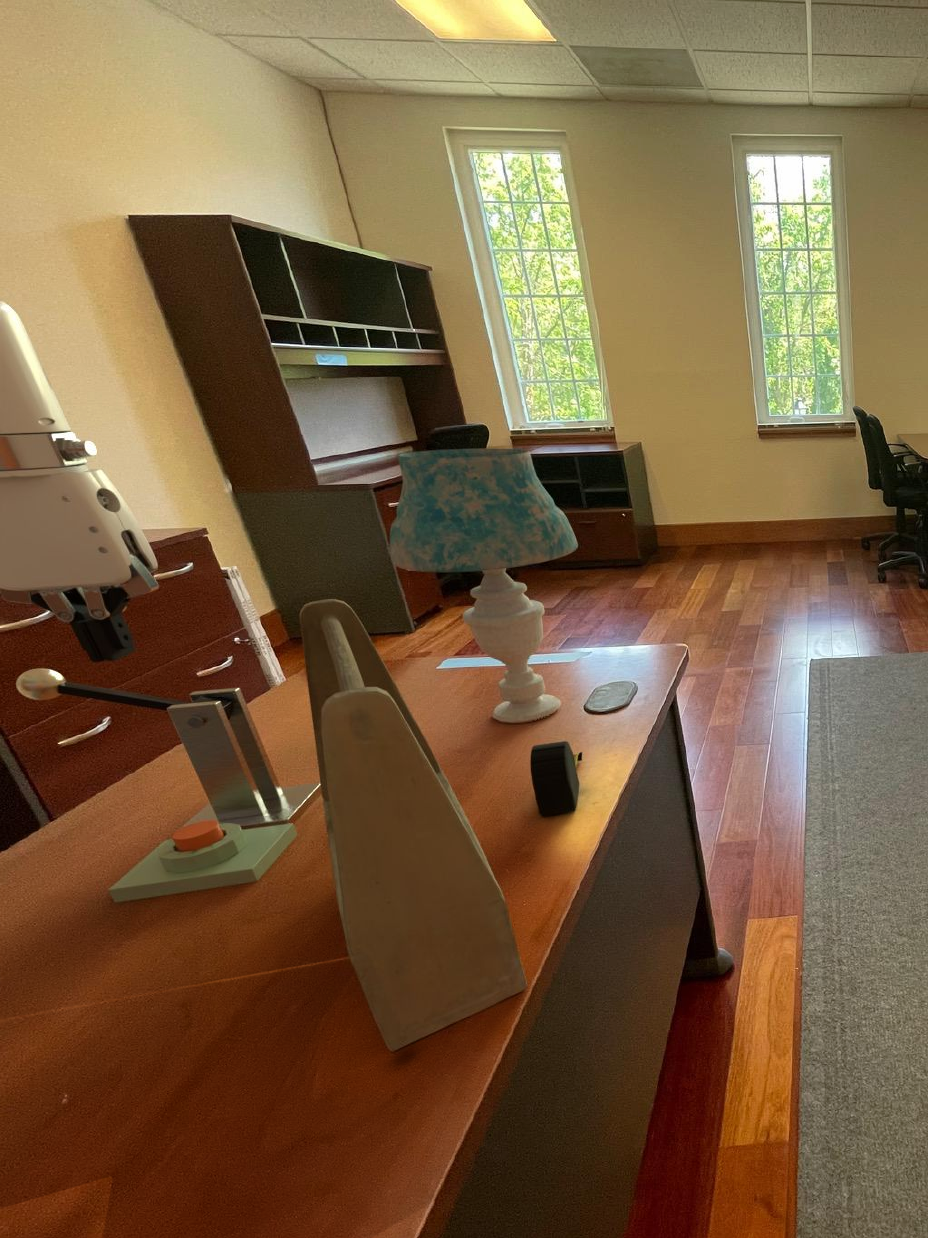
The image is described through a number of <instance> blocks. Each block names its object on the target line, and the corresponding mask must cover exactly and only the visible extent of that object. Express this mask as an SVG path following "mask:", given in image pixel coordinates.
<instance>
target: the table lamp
mask: <svg viewBox="0 0 928 1238" xmlns="http://www.w3.org/2000/svg"><path fill="white" fill-rule="evenodd" d="M397 461H398V465H399V468H400V473H401V480H402V485H401V493H400V496H399V500H398V504H397V506H396V517H395V519H394V520H393V522H392V523H391V526H390V530H389V553H390V559H391V562H392V565H394V566H396V567H397V568H399V569H403V570H405V571H414V572H421V573H422V572H423V573H466V572H482V573H483V574H484V575H483V577H482V579H481V582H480V585H478V586H475V587H473V588H472V589H470V594H469V595H470V597H472V598H473V599H476V600H475V601H474V604H473V606H471V607H470V608H468V609H466V610H464V611H463V613H462V621H463V623H464V624H465V625H466V626H468V627H469V629H470V631H471V633H472V636H473V639H474V641H475V643H476V645H477V646H478V647H479V649H480V650H481V651H482V652H483V653H484V654H485V655H486V656H488V657H490V658H491V659H494V660H497V661H498V662H501V664H503V665H505V667H506V670H505V671H504V673H503V676H504V678H503V679H501V680H500V681H499V682H498V684H497V685H498V690H499V695H500V698H501V699H502V700H503V702H501V703H500V704H497V706H496V707H495V708H494V710H493V712H492V713H491V714H492V717H493V719H494V720H496V721H498V722H501V723H506V724H525V723H530V722H536V721H539V720H541V719H545V718H546V717H545V716H547V717H549V716H551V715H553V714H555V713H556V712H557V711H558V709H560V707H561V706H562V701H561V700H560V699H559V698H558V697H556V696H555V695H552V694H545V693H546V685H545V681H544V678H543V676H542V675H541V674H539V673H534V669H533V668H532V667H531V666H529V665H528V664H529V660H530V658H531V656H533V655H534V654H535V653H536V652H537V651H538V649H539V648H540V646H541V644H542V642H543V639H544V638H543V637H544V628H543V627H544V625H543V616H544V615H545V613H546V611H545V607H544V604H543V603H542V602H540V601H538V600H534V599H530V598H529V597H528V596H527V595H525V592H527V591H528V586H527V585H526V584H525V583H524V582H521V581H519V582H518V581H515V580H514V579H512V578H511V576H510V575H508V573H506V571H507V569H510V568H517V567H524V566H529V565H530V566H531V565H536V564H540V563H545V562H550V561H553V560H556V559H560V558H563V557H566V556H568V555H570V554H572V553H574V552H575V551H576V550H577V549H578V547H579V543H578V540H577V538H576V535H575V532H574V530H573V528H572V526H571V523H570V522H569V519H568V517H567V516H566V515H565V513H564V511H563V510H561V509H560V507H558V506H557V505H556V504H555V501H554V499H553V497H552V496H551V495H550V494H549V492H548V491H547V490H546V489H545V487H544V486H543V484H542V482H541V481H540V479H539V477H538V476H537V473H536V469H535V467H534V464H533V459H532V455H531V453H530V451H529V450H527V449H520V448H496V447H495V448H454V449H453V448H452V449H451V448H450V449H433V450H422V451H421V450H419V451H412V452H405V453H404V452H403V453H399V455H398V460H397ZM556 710H557V711H556ZM555 711H556V712H555ZM550 714H551V715H550ZM543 717H544V718H543ZM540 718H541V719H540ZM537 719H538V720H537ZM533 720H534V721H533Z"/></svg>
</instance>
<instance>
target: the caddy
mask: <svg viewBox="0 0 928 1238" xmlns="http://www.w3.org/2000/svg"><path fill="white" fill-rule="evenodd" d="M299 623H300V631H301V640H302V648H303V649H302V650H303V656H304V666H305V674H306V682H307V687H308V688H307V689H308V690H307V691H308V698H309V704H310V712H311V719H312V726H313V727H312V729H313V735H314V736H313V737H314V742H315V750H316V760H317V766H318V767H317V768H318V775H319V783H320V784H321V797H322V799H323V800H322V803H323V804H322V805H323V811H324V821H325V828H326V829H325V830H326V833H327V844H328V851H329V857H330V863H331V871H332V877H333V882H334V887H335V896H336V901H337V907H338V911H339V917H340V921H341V926H342V929H343V933H344V934H343V935H344V938H345V944H346V950H347V954H348V958H349V961H350V964H351V965H352V967H353V969H354V971H355V974H356V976H357V979H358V982H359V984H360V986H361V989H362V991H363V994H364V996H365V998H366V1001H367V1004H368V1007H369V1009H370V1012H371V1014H372V1017H373V1019H374V1021H375V1023H376V1026H377V1028H378V1031H379V1033H380V1036H381V1037H382V1040H383V1041H384V1043H385V1045H386V1047H387V1049H388V1051H390V1052H391V1053H393V1052H395V1051H398V1050H400V1049H402V1048H403V1047H406V1046H408V1045H409V1044H412V1043H414V1042H417V1041H418V1040H421V1039H423V1038H425V1037H428V1036H429V1035H432V1034H434V1033H436V1032H438V1031H441V1030H442V1029H445V1028H446V1027H448V1026H451V1025H452V1024H455V1023H457V1022H459V1021H462V1020H464V1019H467V1018H469V1017H471V1016H473V1015H476V1014H478V1013H480V1012H482V1011H485V1010H486V1009H489V1008H491V1007H492V1006H495V1005H496V1004H499V1003H500V1002H503V1001H504V1000H506V999H508V998H510V997H513V996H514V995H517V994H520V993H522V992H524V991H525V990H526V989H527V988H528V981H527V978H526V974H525V971H524V966H523V963H522V960H521V956H520V954H519V952H520V951H519V949H518V945H517V940H516V937H515V936H516V935H515V933H514V928H513V924H512V920H511V916H510V913H509V912H510V911H509V908H508V905H507V900H506V898H505V896H504V894H503V891H502V888H501V887H500V885H499V883H498V881H497V879H496V877H495V875H494V873H493V870H492V868H491V866H490V864H489V861H488V858H487V856H486V854H485V851H484V850H483V848H482V846H481V845H482V844H481V843H480V841H479V840H478V837H477V835H476V833H475V831H474V829H473V827H472V825H471V823H470V821H469V819H468V817H467V815H466V813H465V811H464V809H463V807H462V805H461V804H460V802H459V799H458V798H457V796H456V794H455V792H454V789H453V788H452V786H451V784H450V781H449V780H448V778H447V777H446V775H445V773H444V771H443V769H442V768H441V766H440V764H439V762H438V760H437V758H436V756H435V754H434V752H433V750H432V748H431V746H430V745H429V742H428V740H427V739H426V737H425V735H424V733H423V732H422V730H421V729H420V726H419V725H418V722H417V721H416V719H415V717H414V715H413V713H412V712H411V710H410V708H409V706H408V704H407V703H406V701H405V698H404V697H403V695H402V693H401V692H400V690H399V688H398V686H397V684H396V682H395V681H394V679H393V677H392V675H391V673H390V671H389V669H388V668H387V666H386V664H385V662H384V660H383V659H382V656H381V654H380V653H379V651H378V649H377V647H376V646H375V644H374V642H373V641H372V639H371V637H370V635H369V633H368V632H367V630H366V628H365V627H364V625H363V623H362V622H361V619H360V618H359V616H358V615H357V613H356V612H355V611H354V610H353V608H352V607H351V606H350V605H349V604H347V603H346V602H345V601H344V600H339V599H337V598H327V599H320V600H315V601H310V602H308V603H306V604H304V605H303V606H302V608H301V609H300V612H299Z"/></svg>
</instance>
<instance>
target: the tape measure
mask: <svg viewBox="0 0 928 1238" xmlns="http://www.w3.org/2000/svg"><path fill="white" fill-rule="evenodd" d="M581 761H583V751H580V752H579V753H576V754H574V752H573V750H572V747H571V745H570V743H569V741H568V740H564V741H557V742H549V743H542V744H535V745H532V747H531V751H530V762H529V763H530V776H531V782H532V788H533V793H534V797H535V798H534V799H535V803H536V806H537V810H538V814H539V816H540V817H548V816H555V815H561V814H566V813H573V812H576V810H577V807H578V806H577V805H578V800H579V799H578V798H579V793H580V779H579V776H578V772H577V765H578V762H581Z"/></svg>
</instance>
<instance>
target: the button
mask: <svg viewBox="0 0 928 1238" xmlns="http://www.w3.org/2000/svg"><path fill="white" fill-rule="evenodd" d="M180 828H181V827H180ZM180 828H179V829H177V830H176V831H174V832H173V833H172V834H171V839H173V840H174V842H175V844H176V846H177V848H178V850H179V851H180V852H187V851H194V850H198V849H201V848H204V847H207V846H210V845H212V844H214V843H216V842H218V841H220V840H221V839H222V838H223V837H224V835H223V832H222V830H221V828H220V826H219V824H218V822H217V821H213V820H208V821H201V822H196V823H193V824H190V825H187V826H185V827H183V828H181V829H180Z"/></svg>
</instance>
